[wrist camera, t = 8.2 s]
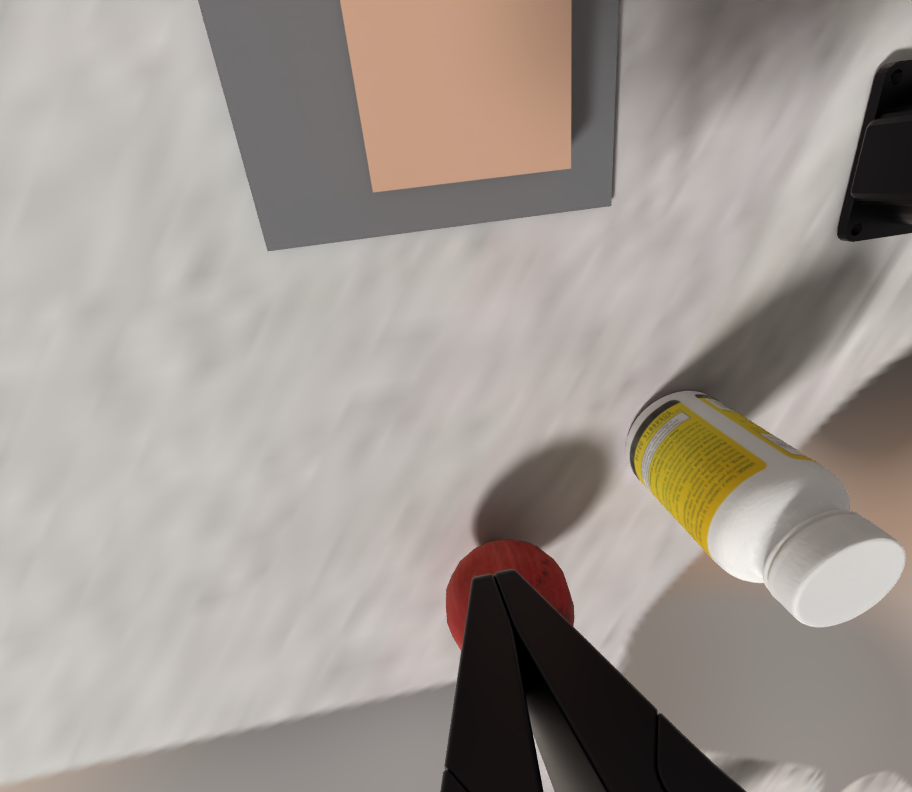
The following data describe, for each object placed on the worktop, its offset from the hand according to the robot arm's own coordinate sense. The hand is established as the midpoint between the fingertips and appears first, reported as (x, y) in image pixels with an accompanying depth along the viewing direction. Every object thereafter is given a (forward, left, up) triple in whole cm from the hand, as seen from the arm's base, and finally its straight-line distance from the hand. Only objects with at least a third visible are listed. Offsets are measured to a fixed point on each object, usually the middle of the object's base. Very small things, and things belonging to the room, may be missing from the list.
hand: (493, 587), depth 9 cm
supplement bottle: (-12, +6, -12) cm, 18 cm away
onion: (-2, +11, -12) cm, 17 cm away
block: (+1, -11, -10) cm, 15 cm away
